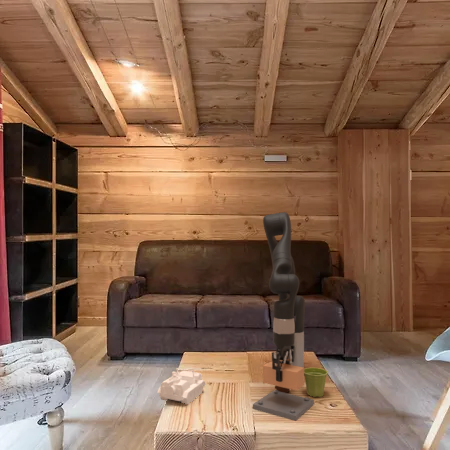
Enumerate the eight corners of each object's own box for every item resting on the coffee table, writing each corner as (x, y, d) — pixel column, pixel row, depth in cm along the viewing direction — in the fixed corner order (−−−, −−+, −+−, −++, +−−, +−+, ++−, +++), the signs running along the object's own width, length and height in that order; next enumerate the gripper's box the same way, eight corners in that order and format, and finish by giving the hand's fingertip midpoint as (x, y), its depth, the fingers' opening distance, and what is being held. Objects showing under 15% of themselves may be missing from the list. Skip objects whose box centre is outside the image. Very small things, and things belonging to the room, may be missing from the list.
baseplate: (273, 394, 150) (273, 388, 151) (313, 404, 142) (313, 397, 142) (252, 408, 137) (252, 401, 137) (295, 420, 128) (295, 413, 128)
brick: (271, 377, 146) (271, 361, 146) (304, 384, 139) (304, 367, 139) (263, 382, 141) (263, 365, 141) (296, 390, 134) (296, 372, 134)
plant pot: (297, 394, 150) (298, 371, 150) (309, 387, 157) (309, 365, 158) (320, 401, 144) (320, 377, 144) (332, 394, 151) (332, 370, 152)
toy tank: (206, 391, 153) (206, 366, 153) (180, 412, 134) (180, 382, 135) (179, 387, 157) (179, 362, 158) (150, 406, 139) (151, 377, 139)
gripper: (282, 325, 149) (282, 371, 148) (264, 332, 137) (264, 382, 136) (301, 328, 144) (301, 375, 144) (284, 335, 132) (284, 386, 132)
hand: (283, 378), depth 140 cm, fingers closed on brick, 6 cm apart
